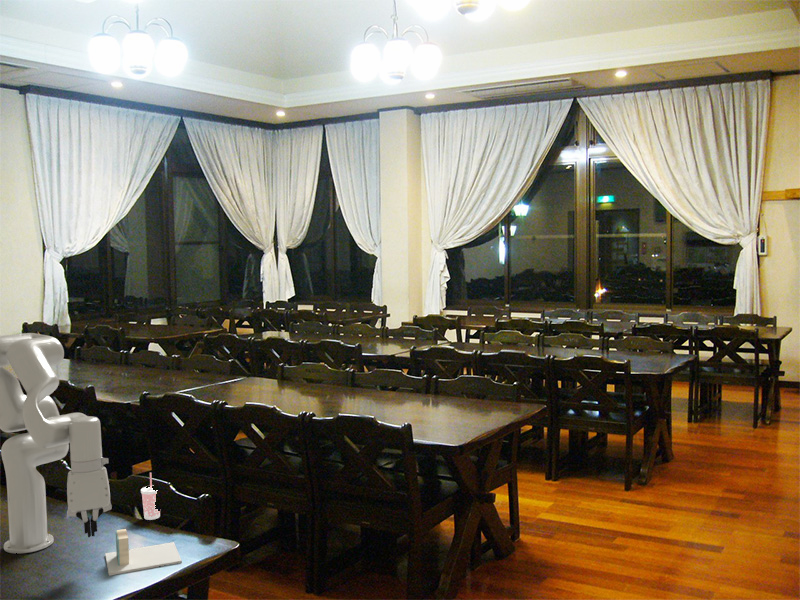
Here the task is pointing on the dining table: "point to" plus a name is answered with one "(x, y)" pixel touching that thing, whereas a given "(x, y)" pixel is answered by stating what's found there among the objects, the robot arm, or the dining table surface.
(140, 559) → the off-white board
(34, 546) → the robot arm
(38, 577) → the dining table surface
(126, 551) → the tan notched wooden block
